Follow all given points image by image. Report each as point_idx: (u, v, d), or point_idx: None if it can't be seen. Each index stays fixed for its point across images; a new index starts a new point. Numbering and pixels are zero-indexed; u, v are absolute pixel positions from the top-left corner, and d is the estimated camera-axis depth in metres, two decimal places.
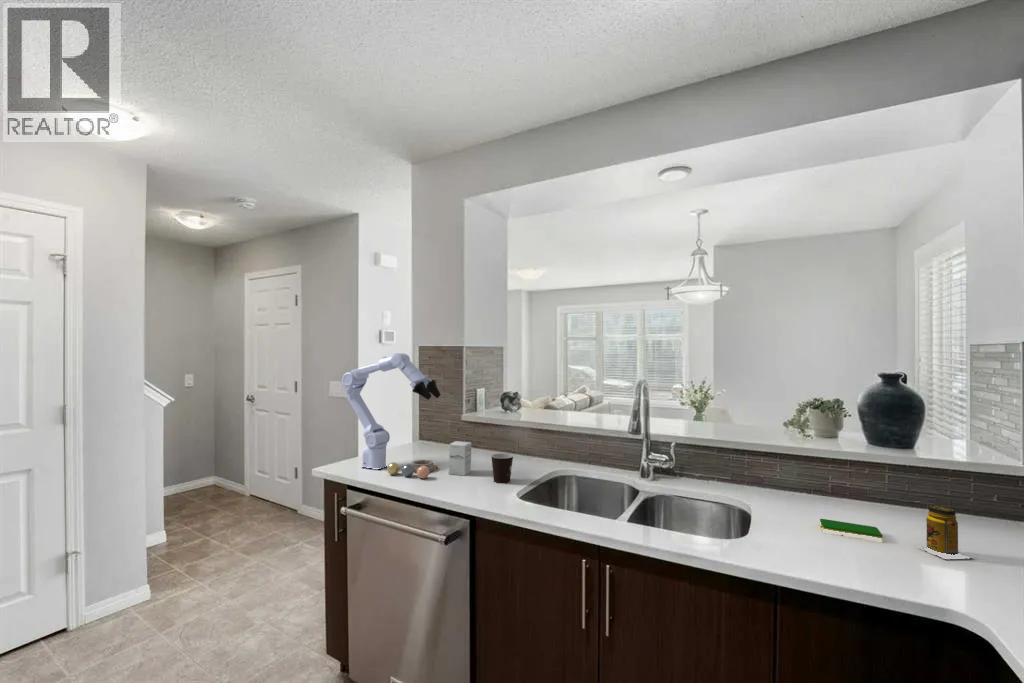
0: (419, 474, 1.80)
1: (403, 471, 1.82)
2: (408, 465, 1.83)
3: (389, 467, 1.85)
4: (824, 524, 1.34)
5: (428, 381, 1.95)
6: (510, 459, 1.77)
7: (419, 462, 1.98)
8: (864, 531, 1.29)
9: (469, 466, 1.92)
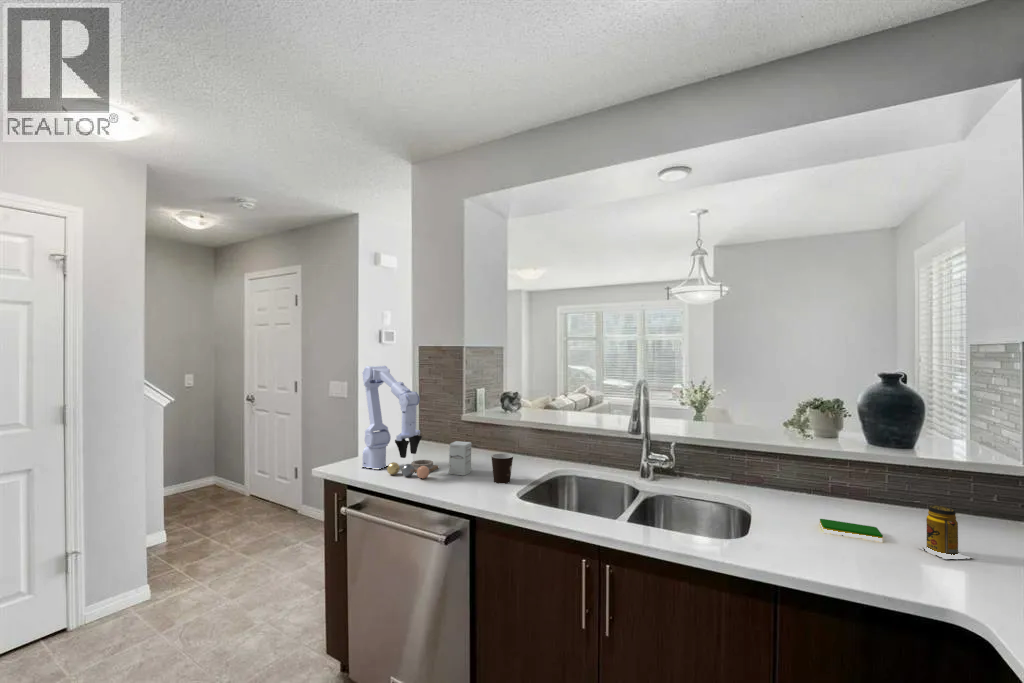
0: (419, 474, 1.80)
1: (403, 471, 1.82)
2: (408, 465, 1.83)
3: (389, 467, 1.85)
4: (824, 524, 1.33)
5: (416, 432, 1.89)
6: (510, 459, 1.77)
7: (419, 462, 1.98)
8: (864, 531, 1.29)
9: (469, 466, 1.92)
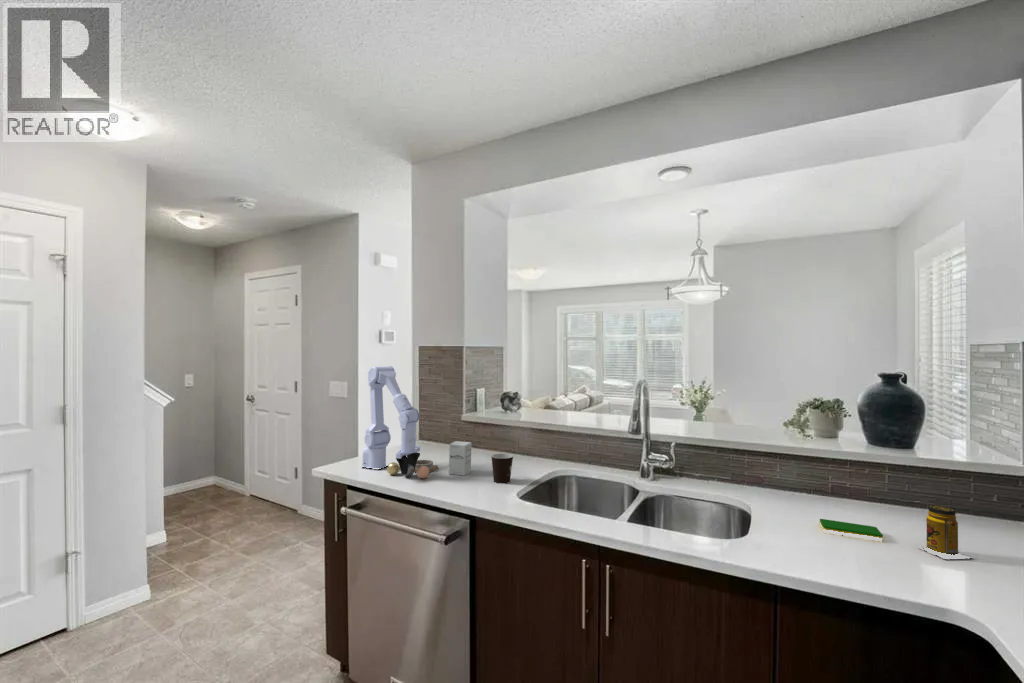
0: (419, 474, 1.80)
1: None
2: (408, 465, 1.83)
3: (389, 467, 1.85)
4: (824, 524, 1.33)
5: (416, 449, 1.89)
6: (510, 459, 1.77)
7: (419, 462, 1.98)
8: (864, 531, 1.29)
9: (469, 466, 1.92)
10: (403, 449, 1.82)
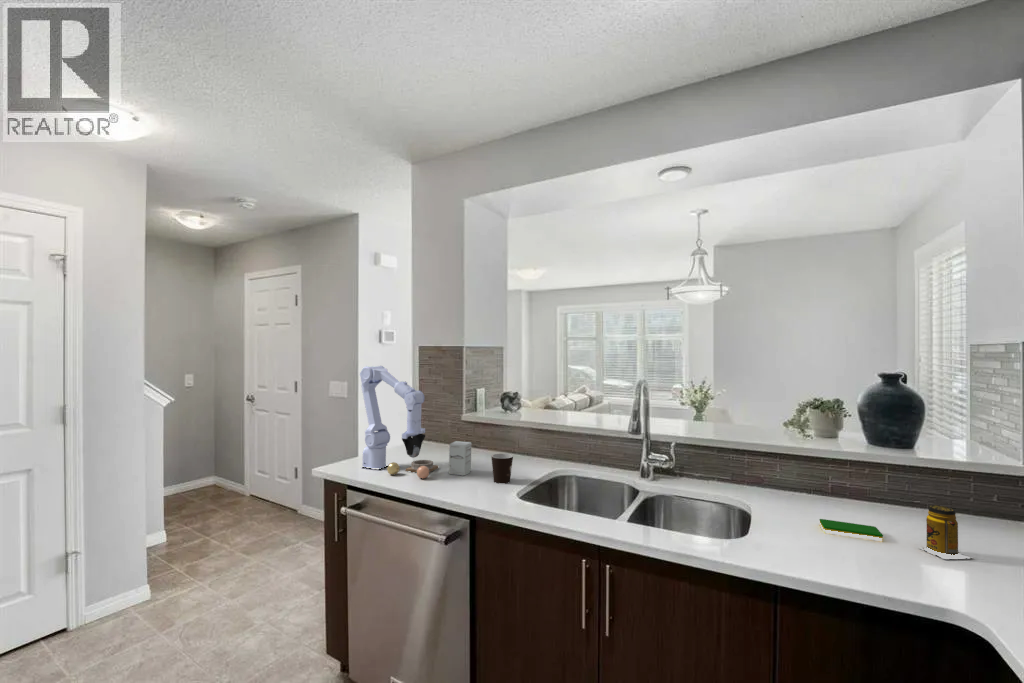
0: (419, 474, 1.80)
1: None
2: (414, 446, 1.87)
3: (389, 467, 1.85)
4: (825, 525, 1.33)
5: None
6: (510, 459, 1.77)
7: (419, 462, 1.98)
8: (865, 531, 1.29)
9: (469, 466, 1.92)
10: (409, 430, 1.86)
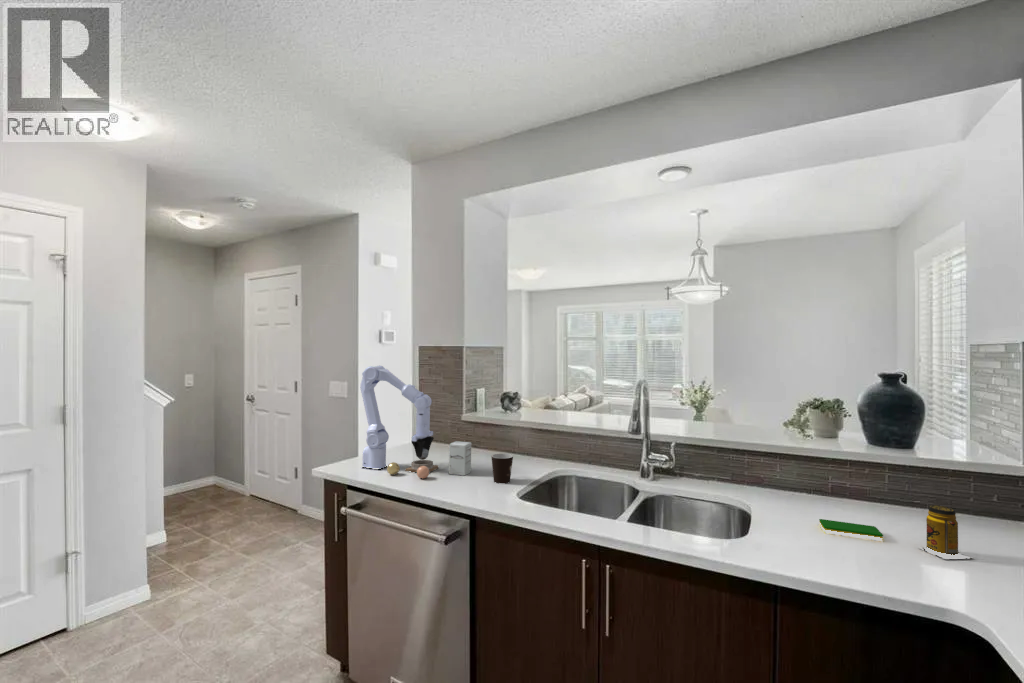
0: (419, 474, 1.80)
1: None
2: (423, 448, 1.94)
3: (389, 467, 1.85)
4: (825, 525, 1.33)
5: (429, 433, 1.99)
6: (510, 459, 1.77)
7: (419, 462, 1.98)
8: (865, 531, 1.29)
9: (469, 466, 1.92)
10: (418, 433, 1.92)
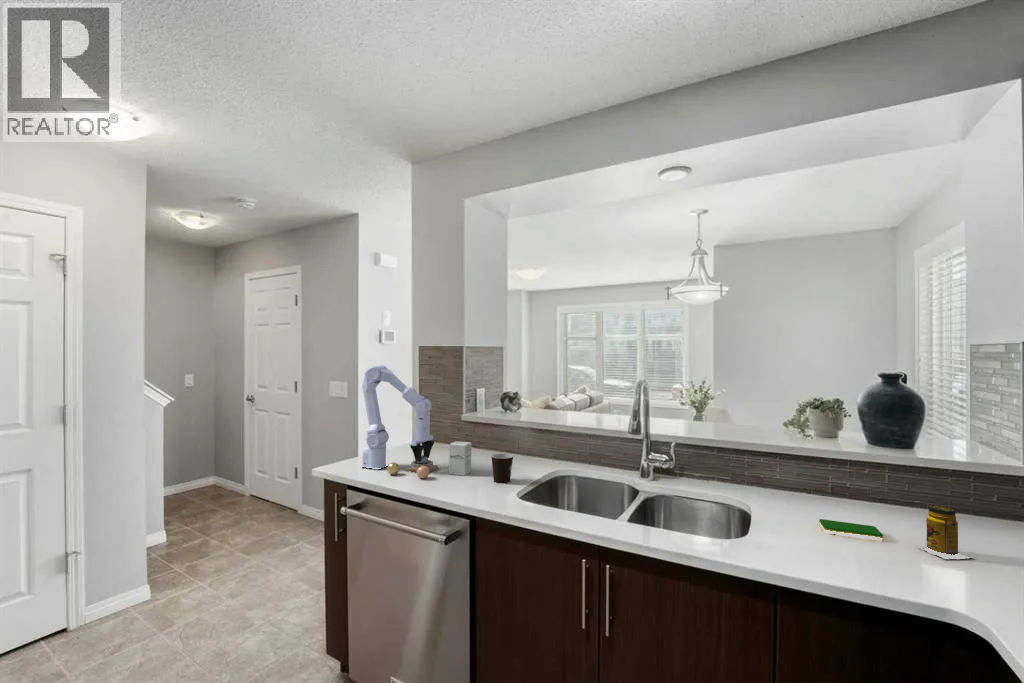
0: (419, 474, 1.80)
1: None
2: (423, 456, 1.94)
3: (389, 467, 1.85)
4: (825, 525, 1.33)
5: None
6: (510, 459, 1.77)
7: None
8: (865, 531, 1.29)
9: (469, 466, 1.92)
10: (418, 437, 1.92)
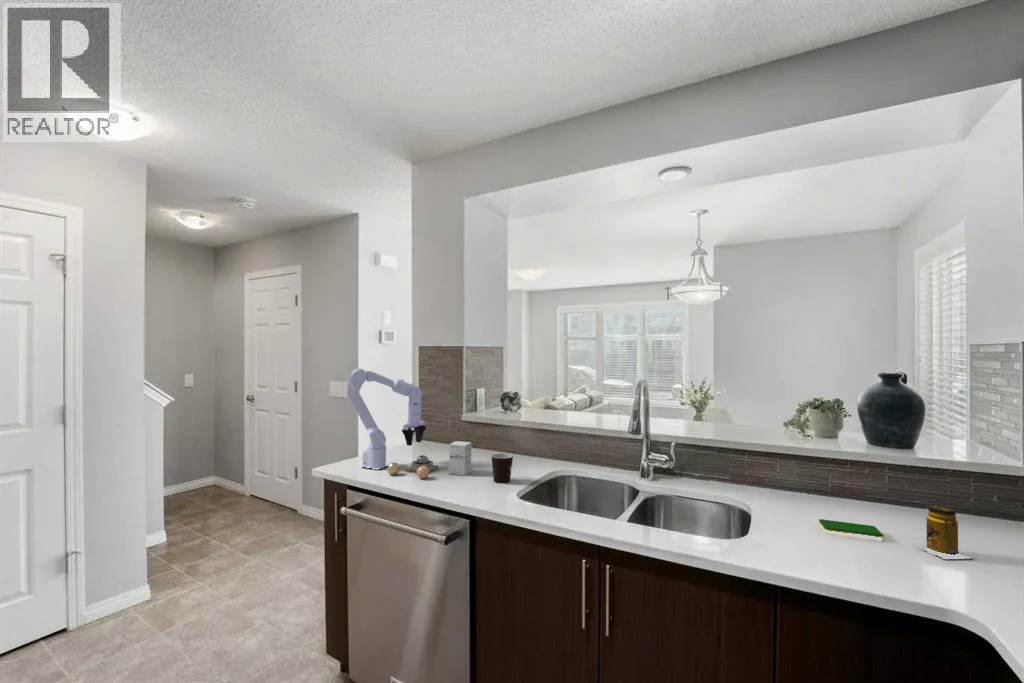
0: (419, 474, 1.80)
1: (418, 461, 1.93)
2: (423, 456, 1.94)
3: (389, 467, 1.85)
4: (825, 525, 1.33)
5: (421, 423, 2.08)
6: (510, 459, 1.77)
7: None
8: (865, 531, 1.29)
9: (469, 466, 1.92)
10: (409, 422, 2.01)
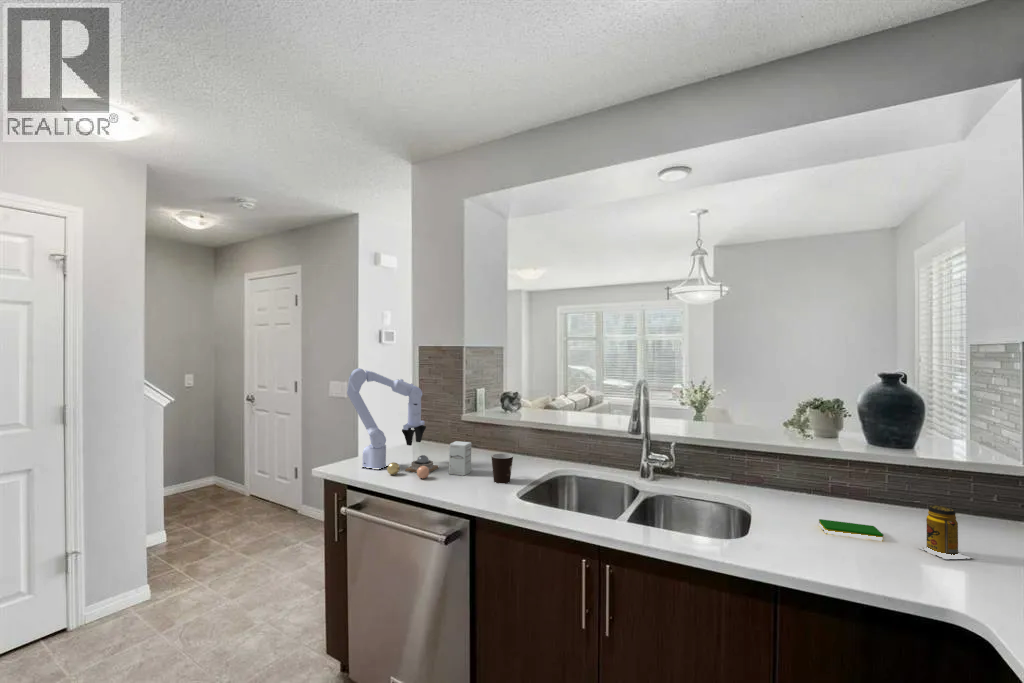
0: (419, 474, 1.80)
1: (418, 461, 1.93)
2: (424, 456, 1.94)
3: (389, 467, 1.85)
4: (826, 525, 1.33)
5: (421, 423, 2.08)
6: (510, 459, 1.77)
7: None
8: (865, 531, 1.29)
9: (469, 466, 1.92)
10: (409, 422, 2.01)
